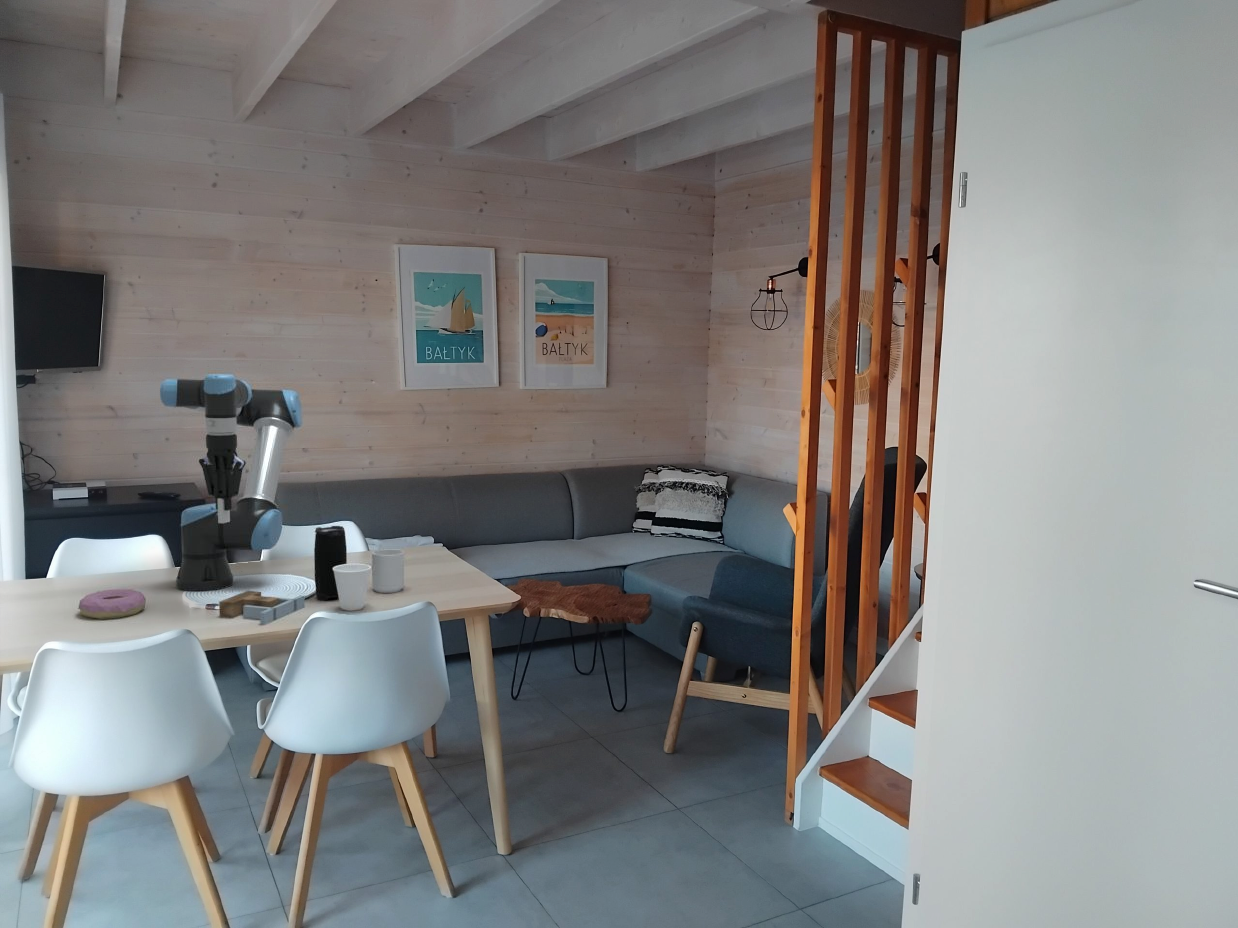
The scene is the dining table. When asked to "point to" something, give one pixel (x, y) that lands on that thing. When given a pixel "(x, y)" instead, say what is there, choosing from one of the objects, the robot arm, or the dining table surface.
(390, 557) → the mug
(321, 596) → the portable speaker
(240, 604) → the t block
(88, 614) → the donut
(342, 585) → the cup
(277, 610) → the slot jig
